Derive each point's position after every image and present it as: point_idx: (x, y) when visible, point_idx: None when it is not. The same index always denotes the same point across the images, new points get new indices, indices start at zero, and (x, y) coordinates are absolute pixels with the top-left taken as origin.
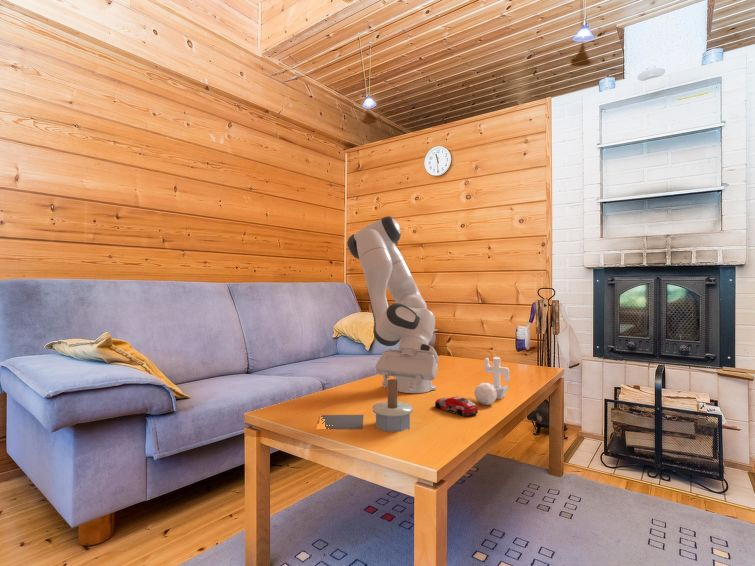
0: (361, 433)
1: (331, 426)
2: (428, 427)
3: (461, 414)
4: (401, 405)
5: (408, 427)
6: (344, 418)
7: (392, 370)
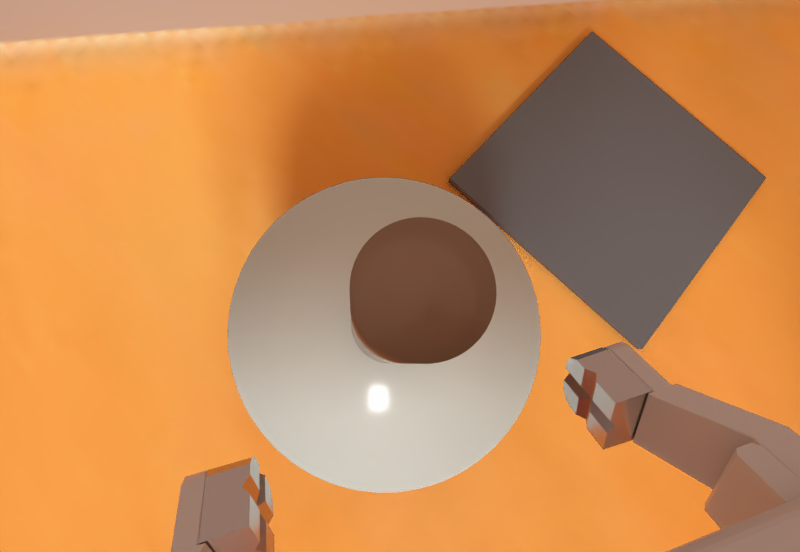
0: (419, 150)
1: (580, 103)
2: None
3: None
4: (370, 409)
5: None
6: (646, 225)
7: (715, 539)
